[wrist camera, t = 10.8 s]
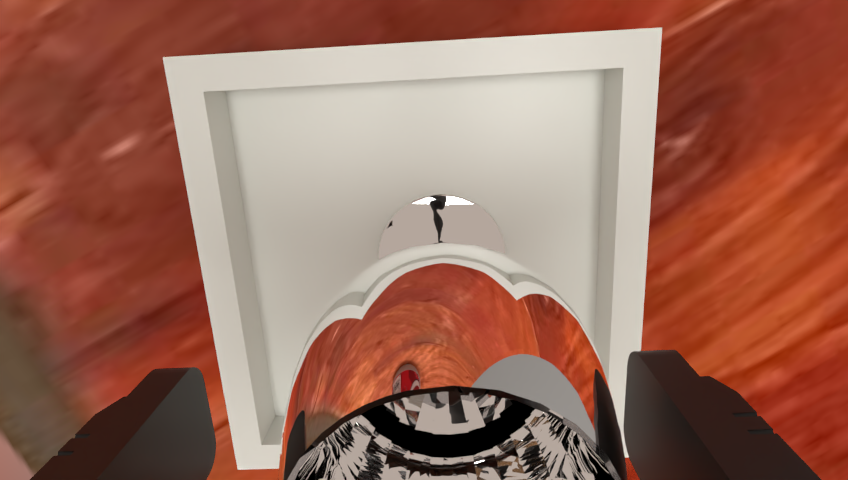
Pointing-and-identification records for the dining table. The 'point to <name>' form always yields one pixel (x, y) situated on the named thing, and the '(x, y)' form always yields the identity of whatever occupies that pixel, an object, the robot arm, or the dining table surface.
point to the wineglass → (449, 366)
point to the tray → (410, 183)
